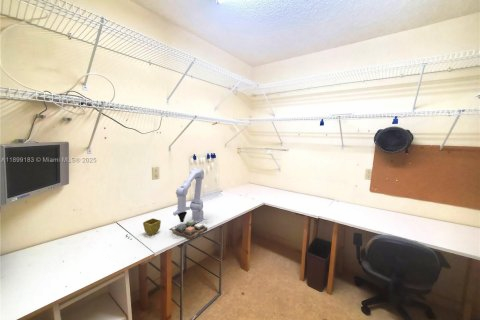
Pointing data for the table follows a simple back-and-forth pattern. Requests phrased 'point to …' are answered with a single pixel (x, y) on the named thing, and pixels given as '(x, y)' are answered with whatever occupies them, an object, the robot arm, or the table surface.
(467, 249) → the table surface
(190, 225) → the key sage
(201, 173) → the robot arm
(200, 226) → the key cream
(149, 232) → the flower pot
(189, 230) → the key terracotta
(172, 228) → the card
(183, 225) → the key slate
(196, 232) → the keypad
